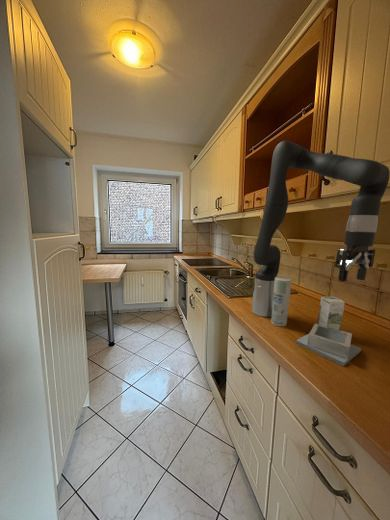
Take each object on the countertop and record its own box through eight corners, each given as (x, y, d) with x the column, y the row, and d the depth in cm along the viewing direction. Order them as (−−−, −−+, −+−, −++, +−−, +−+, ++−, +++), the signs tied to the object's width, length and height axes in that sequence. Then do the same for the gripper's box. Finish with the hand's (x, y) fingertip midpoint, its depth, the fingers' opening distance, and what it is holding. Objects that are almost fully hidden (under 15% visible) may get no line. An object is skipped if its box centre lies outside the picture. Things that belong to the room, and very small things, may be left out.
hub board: (295, 343, 75) (296, 340, 75) (315, 332, 83) (315, 330, 83) (343, 366, 63) (344, 362, 63) (360, 351, 71) (361, 348, 71)
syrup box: (329, 329, 87) (334, 296, 84) (339, 336, 81) (345, 301, 79) (316, 329, 86) (320, 295, 84) (325, 336, 81) (330, 300, 78)
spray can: (289, 324, 90) (294, 279, 87) (280, 327, 87) (285, 281, 84) (276, 318, 96) (280, 276, 92) (267, 321, 92) (271, 277, 89)
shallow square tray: (307, 345, 72) (308, 334, 71) (313, 333, 81) (315, 323, 80) (347, 359, 65) (349, 347, 64) (350, 344, 73) (352, 333, 73)
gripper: (363, 230, 71) (354, 276, 74) (332, 229, 66) (324, 278, 69) (389, 231, 64) (378, 282, 67) (357, 230, 59) (347, 285, 62)
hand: (351, 280), depth 68 cm, fingers open, 8 cm apart
